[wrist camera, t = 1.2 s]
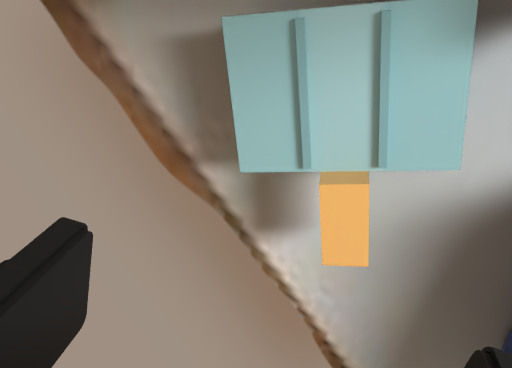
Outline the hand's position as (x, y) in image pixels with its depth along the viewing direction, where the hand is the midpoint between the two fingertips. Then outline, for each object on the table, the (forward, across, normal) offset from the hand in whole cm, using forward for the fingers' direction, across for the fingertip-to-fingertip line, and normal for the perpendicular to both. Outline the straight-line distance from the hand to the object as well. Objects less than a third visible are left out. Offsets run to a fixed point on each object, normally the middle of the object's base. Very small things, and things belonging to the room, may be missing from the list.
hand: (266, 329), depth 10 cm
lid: (+20, -2, +1) cm, 20 cm away
